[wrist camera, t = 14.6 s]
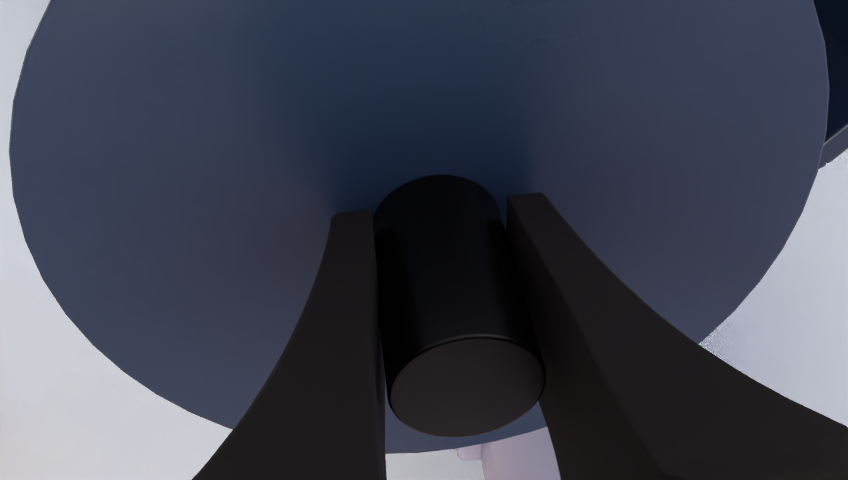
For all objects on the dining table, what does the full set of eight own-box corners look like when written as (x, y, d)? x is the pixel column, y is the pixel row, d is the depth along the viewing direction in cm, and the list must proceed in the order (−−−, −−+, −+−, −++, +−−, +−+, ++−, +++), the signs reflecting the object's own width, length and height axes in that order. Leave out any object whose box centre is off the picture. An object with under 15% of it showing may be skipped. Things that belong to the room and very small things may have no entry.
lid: (686, 398, 21) (766, 579, 18) (117, 435, 20) (75, 644, 16) (944, -218, 12) (1231, -102, 8) (-112, -250, 10) (-343, -122, 7)
